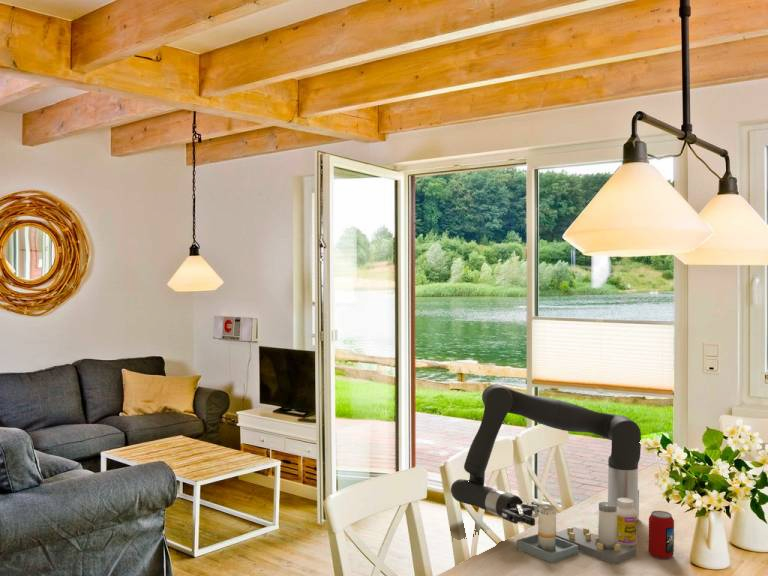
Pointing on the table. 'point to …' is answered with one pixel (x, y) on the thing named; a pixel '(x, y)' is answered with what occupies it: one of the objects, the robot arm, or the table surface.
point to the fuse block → (595, 545)
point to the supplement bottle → (626, 522)
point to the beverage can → (661, 535)
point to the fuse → (607, 525)
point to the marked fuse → (547, 527)
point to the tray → (561, 552)
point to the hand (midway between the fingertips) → (544, 519)
